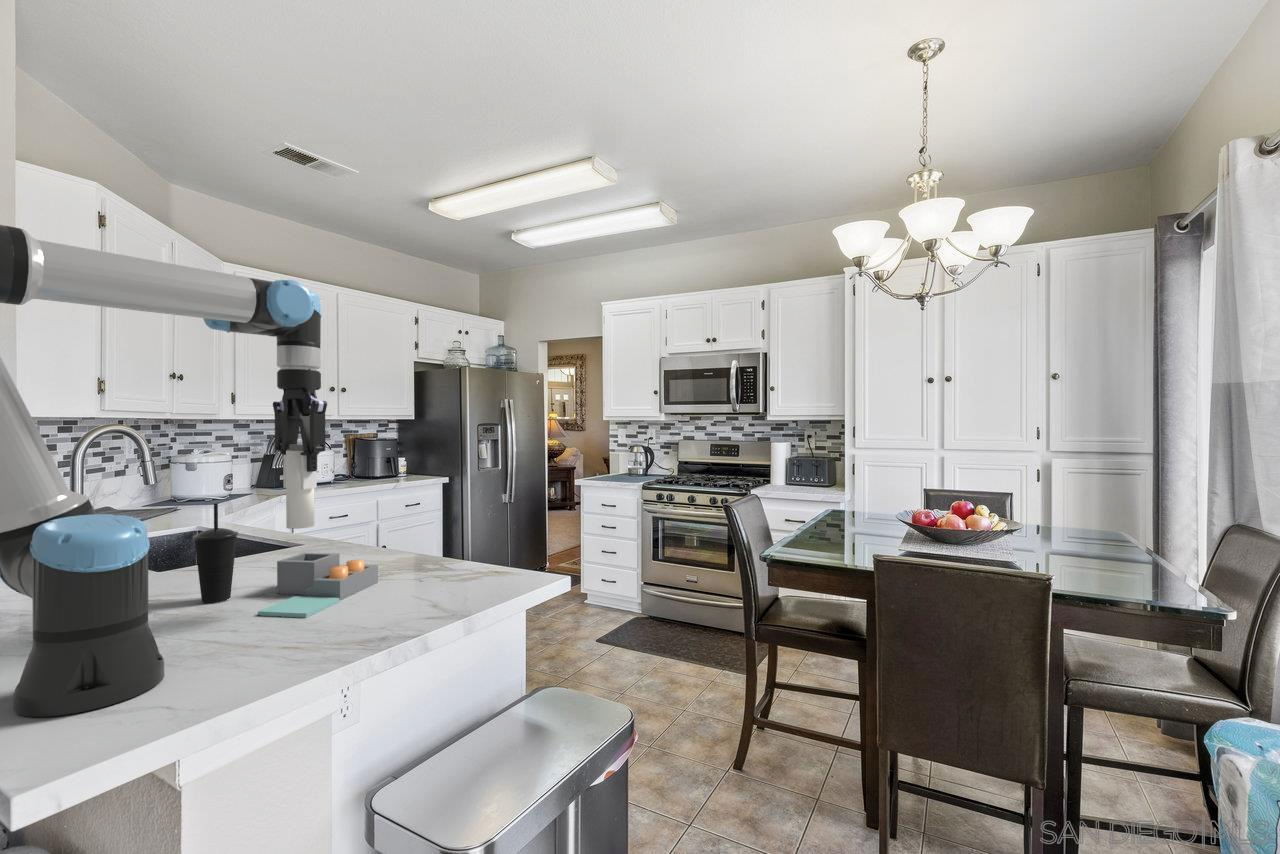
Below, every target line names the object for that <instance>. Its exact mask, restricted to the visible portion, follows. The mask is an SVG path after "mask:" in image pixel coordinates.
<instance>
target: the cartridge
mask: <svg viewBox="0 0 1280 854" xmlns="http://www.w3.org/2000/svg"><path fill="white" fill-rule="evenodd" d="M302 452H304V450H303V444H301V443H297V444H289V451H286V488H285V495H286V498H285V500H286V501H285V503H286V504H285V507H286V509H285V510H286V512H285V513H286V516H285V517H286V518H285V519H286V523H285V524H286V527H285V528H286V529H293V530H294V529H296V530H299V529H307V528H313V527H315V488H310V489H301V454H300V453H302Z"/></svg>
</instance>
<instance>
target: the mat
mask: <svg viewBox="0 0 1280 854" xmlns="http://www.w3.org/2000/svg"><path fill="white" fill-rule="evenodd" d="M337 603H340V600H339V598H327V597H306V596H302V595H299V596H297V595H296V596H295V595H294V596H292V597H289V598H287V599H285V600H281V601H280V602H277V603H275V604H272V605H270V606H267V607H265V608H262V609H261V610H258V611H257V616H258V615H261V617H279V616H281V617H282V618H283V617H284V618H303V619H305V618H309V617H311V616H313V615H316V614H317V613H320V612H322V611H324V610H325V609H328V608H329V607H331V606H333V605H336V604H337Z"/></svg>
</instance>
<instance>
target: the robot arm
mask: <svg viewBox="0 0 1280 854" xmlns="http://www.w3.org/2000/svg"><path fill="white" fill-rule="evenodd" d="M31 300H42V301H49V302H50V301H51V302H60V303H68V304H77V305H85V306H86V305H88V306H93V307H95V306H96V307H103V308H104V307H105V308H113V309H122V310H129V311H138V312H145V313H146V312H147V313H156V314H166V315H174V316H181V317H182V316H183V317H190V318H191V317H192V318H200V319H203V322H204V324H205V325H206V326H207V327H208V328H209V329H211V330H216V331H222V332H226V333H228V334H229V333H236V334H237V333H238V334H246V335H247V334H249V335H258V336H269V337H273V338H274V337H275V338H276V366H277V367H278V368H279V369H278V371H277V372H276V379H277V380H276V386H277V388H278V389H279V390H282V391H283V394H282V397H281V400H280V401H273V403H272V407H273V412H274V449H275V451H276V452H280V454H281V455H282V470H283V474H282V475H283V489H286V451H289V444H298V441H299V433H300V436H301V437H300V438H301V443H302V444H303V450H304V452H302V453H300V454H301V489H310V488H314V489H317V486H318V485H317V484H318V483H317V473H318V472H317V471H318V455H319V454H320V453H321V452H325V451H326V411H327V407H328V402H327V401H326V400H320V399H318V396H317V393H316V391H318V390H320V389H321V388H322V373H321V372H320V371H319V369H321V364H322V363H321V340H322V339H321V336H322V335H321V332H322V331H321V327H322V325H321V321H322V320H321V318H322V312H321V302H320V301H321V299H320V297H319V295H318V294H317V293H316V292H315V291H312V290H309V288H307V287H306V285H304V284H303V283H301V282H299V281H297V280H292V279H278V280H274V281H272V280H265V279H260V278H253V277H252V278H251V277H247V276H242V275H236V274H230V273H225V272H220V271H214V270H210V269H209V270H208V269H203V268H198V267H191V266H186V265H180V264H175V263H169V262H163V261H159V260H152V259H148V258H147V259H146V258H141V257H136V256H130V255H125V254H119V253H114V252H108V251H101V250H95V249H91V248H86V247H85V248H84V247H80V246H73V245H69V244H62V243H57V242H51V241H45V240H40V239H37V238H34V237H33V236H32V235H31V234H30V233H29V232H27V231H26V230H25V229H24V228H19V227H15V226H9V225H3V224H0V304H7V305H16V306H24V304H26V303H28V302H30V301H31ZM299 431H300V432H299ZM150 546H151V543H150V539H149V537H148V529H147V525H146V524H145V522H144V521H142V520H141V519H139V518H137V517H135V516H131V515H130V516H129V515H124V514H123V515H122V514H120V515H119V514H118V515H114V514H108V513H107V514H106V513H103V514H101V513H100V514H97V512H96V510H95V509H94V506H93V505H92V502H91V501H90V498H89V497H88V496H87V495H86V494H82V493H78V492H75V491H72V490H71V489H69V487H68V485H67V483H66V482H65V480H64V478H63V475H62V473H61V471H60V470H59V468H58V465H57V463H56V462H55V459H54V458H53V456H52V454H51V452H50V450H49V449H48V447H47V444H46V442H45V440H44V439H43V437H42V435H41V433H40V431H39V429H38V427H37V425H36V423H35V421H34V419H33V417H32V416H31V413H30V412H29V409H28V407H27V405H26V403H25V401H24V400H23V398H22V396H21V393H20V391H19V390H18V388H17V386H16V385H15V382H14V380H13V378H12V376H11V374H10V373H9V370H8V369H7V367H6V365H5V362H4V361H3V359H2V357H1V356H0V580H1V581H2V582H3V583H4V584H5V585H6V586H7V587H8V588H10V589H11V590H13V591H15V592H16V593H19V594H21V595H24V596H26V597H29V598H31V600H32V646H31V649H30V652H29V653H28V658H27V660H26V662H25V664H24V667H23V669H22V673H21V677H20V680H19V682H18V683H17V685H16V686H15V689H14V692H13V710H14V711H13V712H14V713H15V714H17V715H20V716H23V717H31V718H46V717H58V716H64V715H66V716H67V715H72V714H79V713H82V712H88V711H93V710H97V709H100V708H104V707H108V706H111V705H114V704H117V703H120V702H123V701H127V700H129V699H131V698H134V697H137V696H139V695H141V694H143V693H146V692H148V691H149V690H151V689H153V688H155V687H156V686H157V685H159V684H160V683H161V682H162V681H163V679H164V678H165V659H164V657H163V655H162V654H161V653H160V650H159V647H158V643H157V641H156V640H155V637H154V634H153V633H152V630H151V628H150V623H149V550H150Z"/></svg>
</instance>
